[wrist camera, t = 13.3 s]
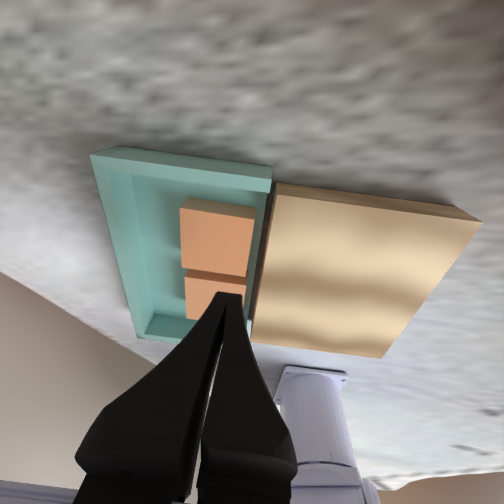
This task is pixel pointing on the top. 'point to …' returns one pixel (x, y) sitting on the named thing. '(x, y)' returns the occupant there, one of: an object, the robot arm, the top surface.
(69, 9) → the top surface
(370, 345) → the board
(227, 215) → the tile
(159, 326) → the tray
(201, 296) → the tile
